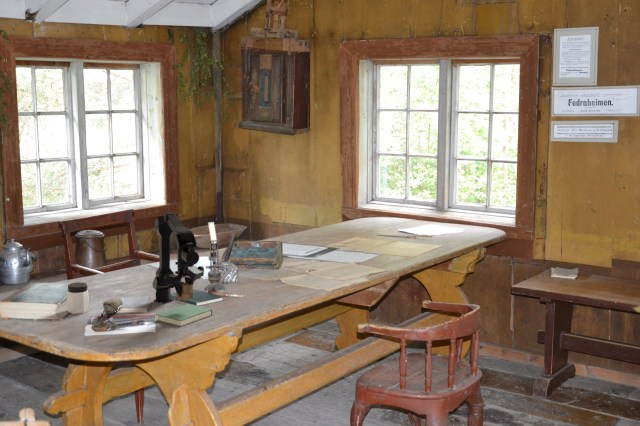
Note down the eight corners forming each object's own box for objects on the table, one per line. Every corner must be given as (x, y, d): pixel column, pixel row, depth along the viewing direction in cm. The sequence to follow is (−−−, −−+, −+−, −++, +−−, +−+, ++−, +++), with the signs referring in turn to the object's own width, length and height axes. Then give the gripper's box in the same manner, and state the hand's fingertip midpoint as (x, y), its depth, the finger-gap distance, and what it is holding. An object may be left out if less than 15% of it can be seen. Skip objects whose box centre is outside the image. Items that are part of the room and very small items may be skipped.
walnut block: (184, 295, 356) (184, 282, 355) (192, 297, 353) (192, 284, 352) (176, 298, 352) (176, 284, 351) (184, 300, 349) (184, 286, 348)
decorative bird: (126, 309, 365) (125, 293, 363) (110, 320, 349) (110, 303, 348) (114, 308, 366) (114, 292, 364) (98, 319, 350) (98, 302, 349)
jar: (92, 311, 360) (91, 285, 357) (75, 315, 354) (74, 288, 352) (81, 307, 366) (80, 281, 363) (64, 310, 360) (63, 284, 358)
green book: (188, 310, 366) (188, 303, 365) (212, 315, 358) (212, 309, 358) (156, 321, 349) (156, 314, 349) (180, 327, 342) (180, 320, 341)
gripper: (183, 266, 337) (183, 303, 340) (213, 258, 353) (213, 293, 356) (163, 262, 343) (163, 298, 346) (193, 254, 359) (193, 289, 361)
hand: (184, 295), depth 352 cm, fingers closed on walnut block, 5 cm apart
